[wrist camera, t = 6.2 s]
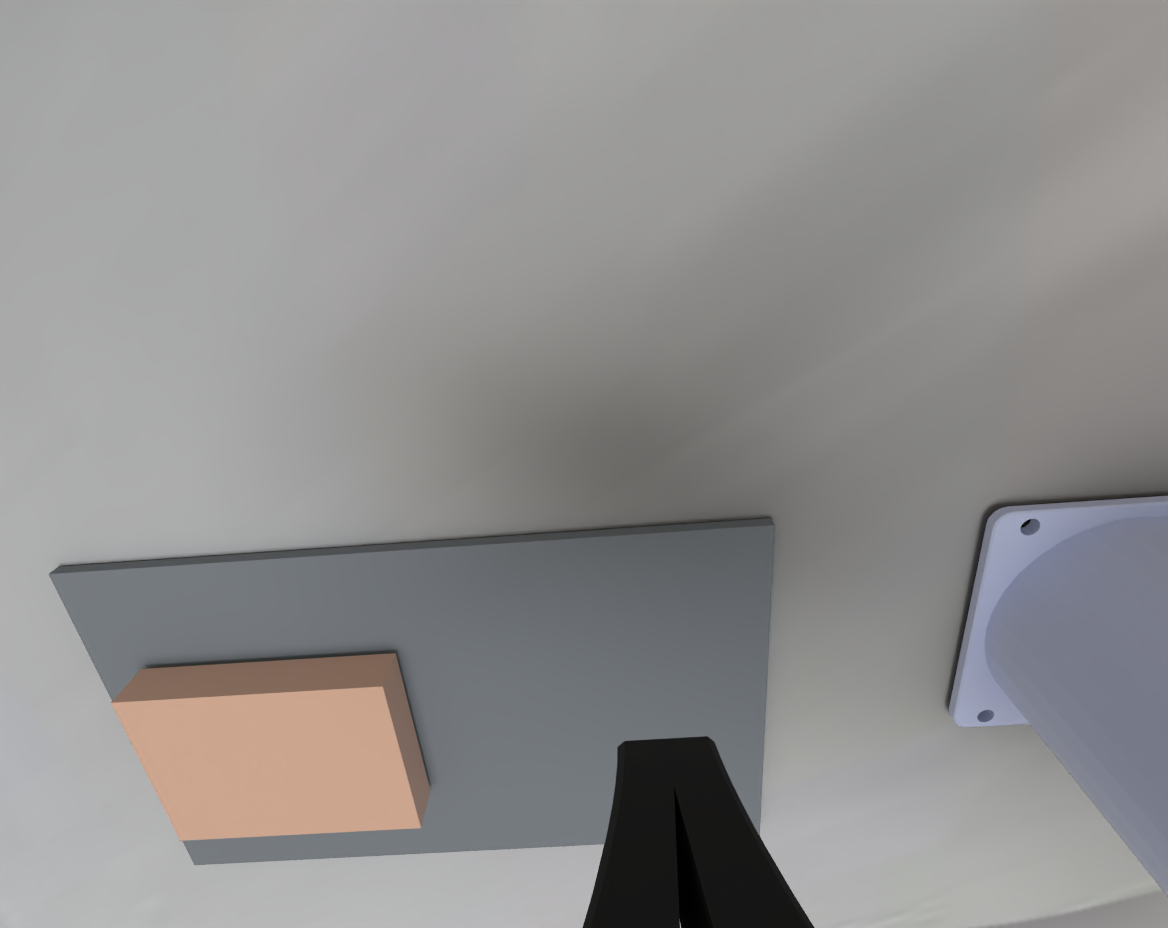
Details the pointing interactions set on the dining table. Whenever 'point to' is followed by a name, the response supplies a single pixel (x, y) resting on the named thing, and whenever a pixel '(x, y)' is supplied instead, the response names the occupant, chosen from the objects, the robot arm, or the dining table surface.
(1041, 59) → the dining table surface
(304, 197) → the dining table surface
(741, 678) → the mat
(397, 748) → the tile
